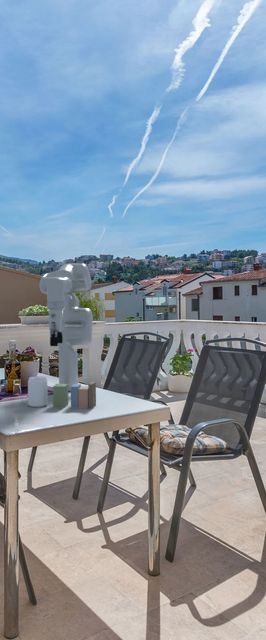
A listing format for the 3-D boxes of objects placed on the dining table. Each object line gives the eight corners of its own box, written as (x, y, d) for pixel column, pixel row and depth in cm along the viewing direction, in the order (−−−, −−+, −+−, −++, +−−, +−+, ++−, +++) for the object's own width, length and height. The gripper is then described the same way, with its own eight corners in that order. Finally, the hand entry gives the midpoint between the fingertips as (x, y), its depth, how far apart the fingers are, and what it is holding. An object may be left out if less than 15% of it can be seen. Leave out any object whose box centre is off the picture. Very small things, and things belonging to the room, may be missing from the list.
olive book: (56, 404, 218) (56, 383, 217) (68, 404, 217) (68, 383, 217) (53, 407, 211) (52, 386, 211) (65, 407, 211) (64, 386, 211)
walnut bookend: (91, 404, 217) (91, 381, 216) (96, 404, 216) (95, 381, 216) (88, 408, 210) (88, 384, 209) (93, 408, 210) (93, 384, 209)
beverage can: (28, 408, 211) (28, 379, 210) (27, 404, 219) (27, 376, 218) (48, 407, 213) (47, 378, 212) (46, 403, 220) (46, 375, 220)
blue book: (74, 404, 217) (73, 384, 217) (80, 404, 217) (80, 384, 216) (70, 408, 211) (70, 386, 210) (77, 408, 210) (77, 386, 210)
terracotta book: (81, 405, 217) (81, 386, 216) (90, 405, 216) (90, 386, 216) (78, 408, 210) (78, 389, 210) (87, 408, 210) (87, 389, 210)
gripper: (60, 307, 213) (60, 347, 214) (68, 304, 230) (68, 342, 232) (42, 307, 213) (43, 347, 215) (51, 304, 231) (52, 342, 232)
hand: (56, 344), depth 223 cm, fingers open, 9 cm apart
